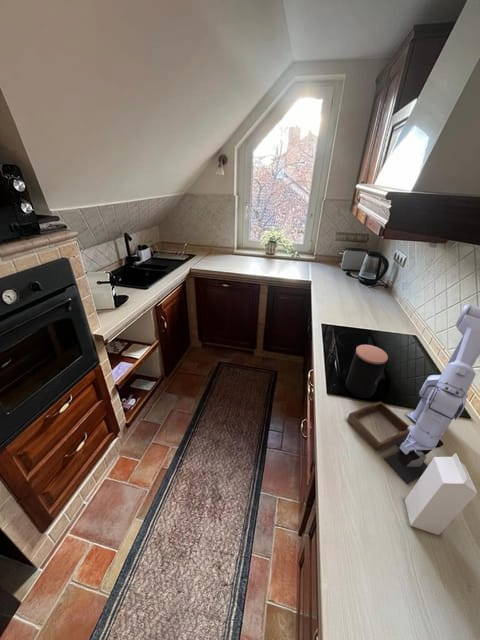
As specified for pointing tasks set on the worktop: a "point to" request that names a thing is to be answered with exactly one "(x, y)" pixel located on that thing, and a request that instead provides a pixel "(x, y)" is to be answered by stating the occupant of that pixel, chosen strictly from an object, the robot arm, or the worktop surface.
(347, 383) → the coffee jar
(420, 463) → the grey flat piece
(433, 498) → the milk
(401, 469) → the mat
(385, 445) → the brown wooden tray
